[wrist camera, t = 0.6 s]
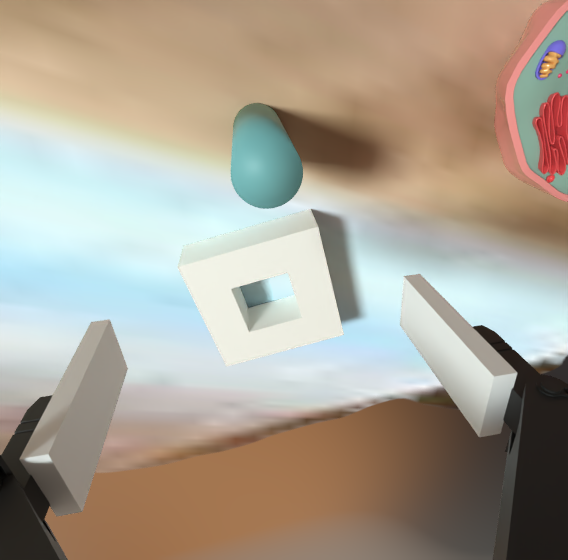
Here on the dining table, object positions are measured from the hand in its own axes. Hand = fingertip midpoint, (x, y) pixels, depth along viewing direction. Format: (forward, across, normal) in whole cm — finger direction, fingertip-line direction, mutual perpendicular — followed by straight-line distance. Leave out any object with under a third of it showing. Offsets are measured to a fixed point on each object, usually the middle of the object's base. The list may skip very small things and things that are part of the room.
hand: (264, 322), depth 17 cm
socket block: (+24, +1, -11) cm, 27 cm away
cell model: (+22, +30, +6) cm, 38 cm away
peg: (+23, +2, +5) cm, 24 cm away
